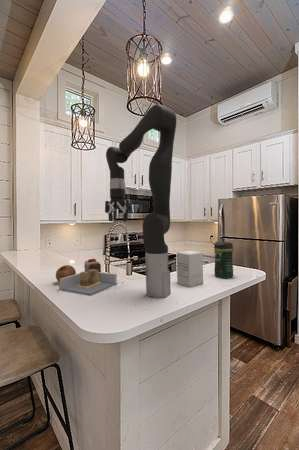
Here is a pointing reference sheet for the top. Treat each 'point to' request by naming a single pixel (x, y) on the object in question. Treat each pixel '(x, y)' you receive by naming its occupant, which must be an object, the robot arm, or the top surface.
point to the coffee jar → (223, 259)
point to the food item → (92, 265)
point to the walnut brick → (89, 277)
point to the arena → (74, 286)
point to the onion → (65, 272)
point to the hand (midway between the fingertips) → (118, 221)
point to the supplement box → (190, 268)
